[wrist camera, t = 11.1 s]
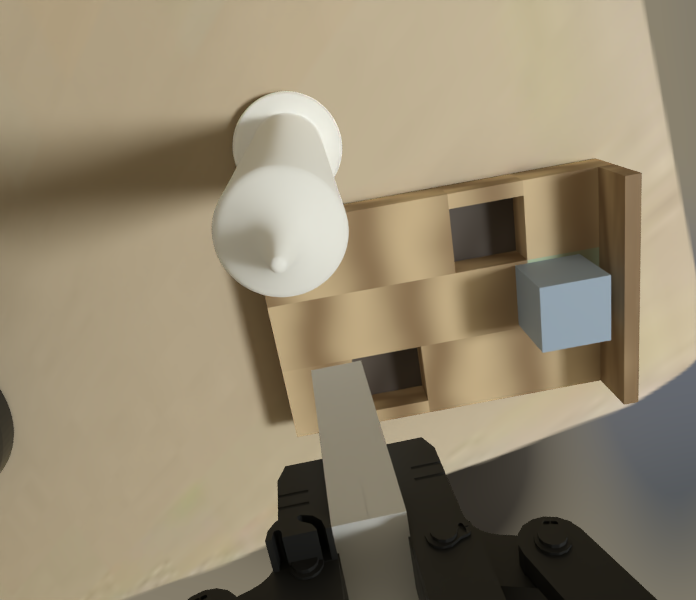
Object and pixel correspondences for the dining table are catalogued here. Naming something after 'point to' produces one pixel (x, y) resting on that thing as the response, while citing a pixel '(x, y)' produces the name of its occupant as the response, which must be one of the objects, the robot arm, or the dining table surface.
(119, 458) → the dining table surface
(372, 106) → the dining table surface
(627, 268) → the board
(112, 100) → the dining table surface
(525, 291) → the block
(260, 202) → the candle
